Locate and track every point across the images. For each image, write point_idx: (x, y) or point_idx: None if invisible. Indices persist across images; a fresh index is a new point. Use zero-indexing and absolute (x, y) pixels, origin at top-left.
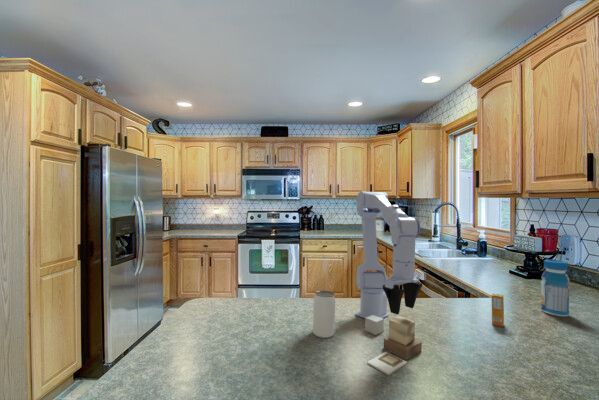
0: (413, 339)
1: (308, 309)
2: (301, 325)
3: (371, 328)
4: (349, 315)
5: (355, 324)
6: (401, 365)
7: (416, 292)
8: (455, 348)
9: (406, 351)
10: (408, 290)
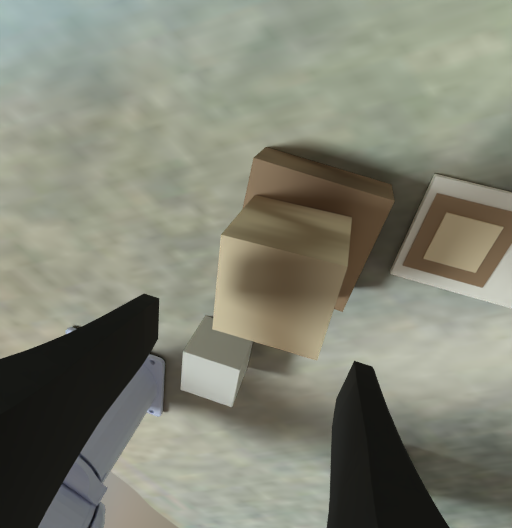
0: (264, 199)
1: (240, 510)
2: None
3: (246, 359)
4: (180, 422)
5: None
6: (489, 188)
7: (46, 377)
8: (103, 5)
9: (392, 198)
10: (66, 436)
